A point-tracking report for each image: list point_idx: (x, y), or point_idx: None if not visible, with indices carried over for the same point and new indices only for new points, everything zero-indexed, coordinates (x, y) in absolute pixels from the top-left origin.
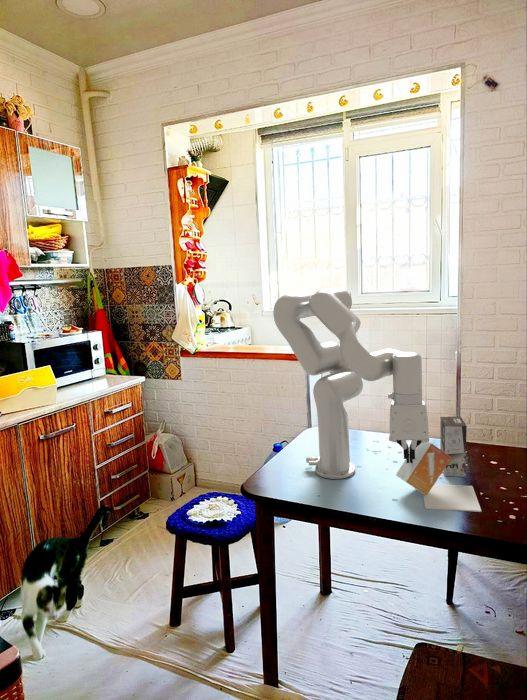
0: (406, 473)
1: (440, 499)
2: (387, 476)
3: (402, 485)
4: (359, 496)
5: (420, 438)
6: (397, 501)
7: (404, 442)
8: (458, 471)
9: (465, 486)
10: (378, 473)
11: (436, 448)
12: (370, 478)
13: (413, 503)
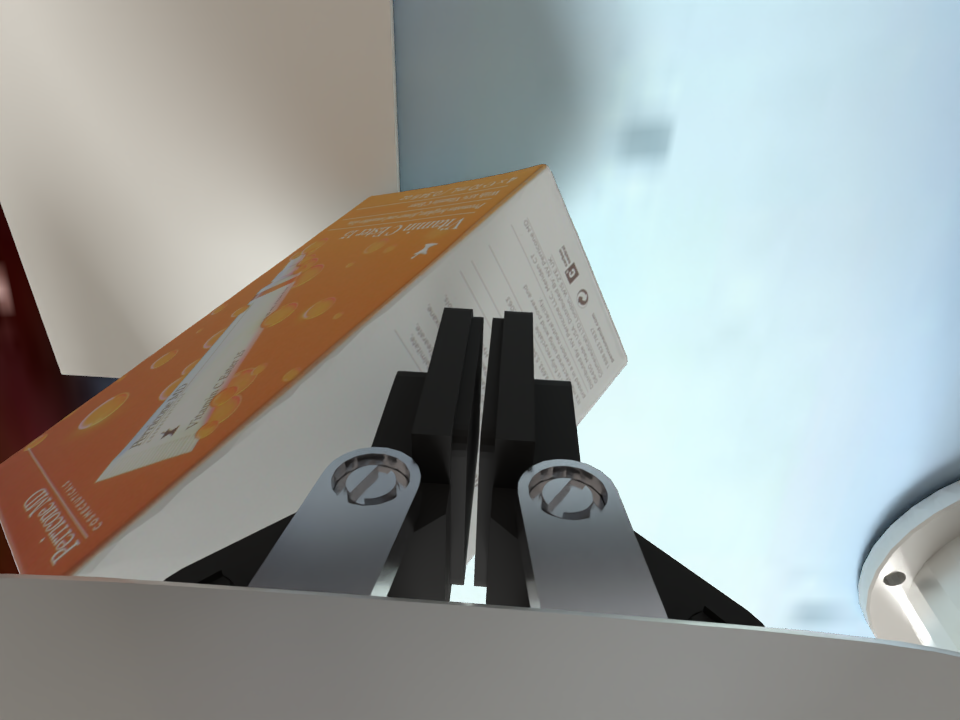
0: (533, 282)
1: (261, 149)
2: (637, 497)
3: None
4: (956, 182)
5: (1, 617)
6: (625, 110)
7: (579, 591)
8: None
9: (104, 364)
10: (694, 534)
11: (30, 536)
12: (770, 471)
13: (488, 82)
